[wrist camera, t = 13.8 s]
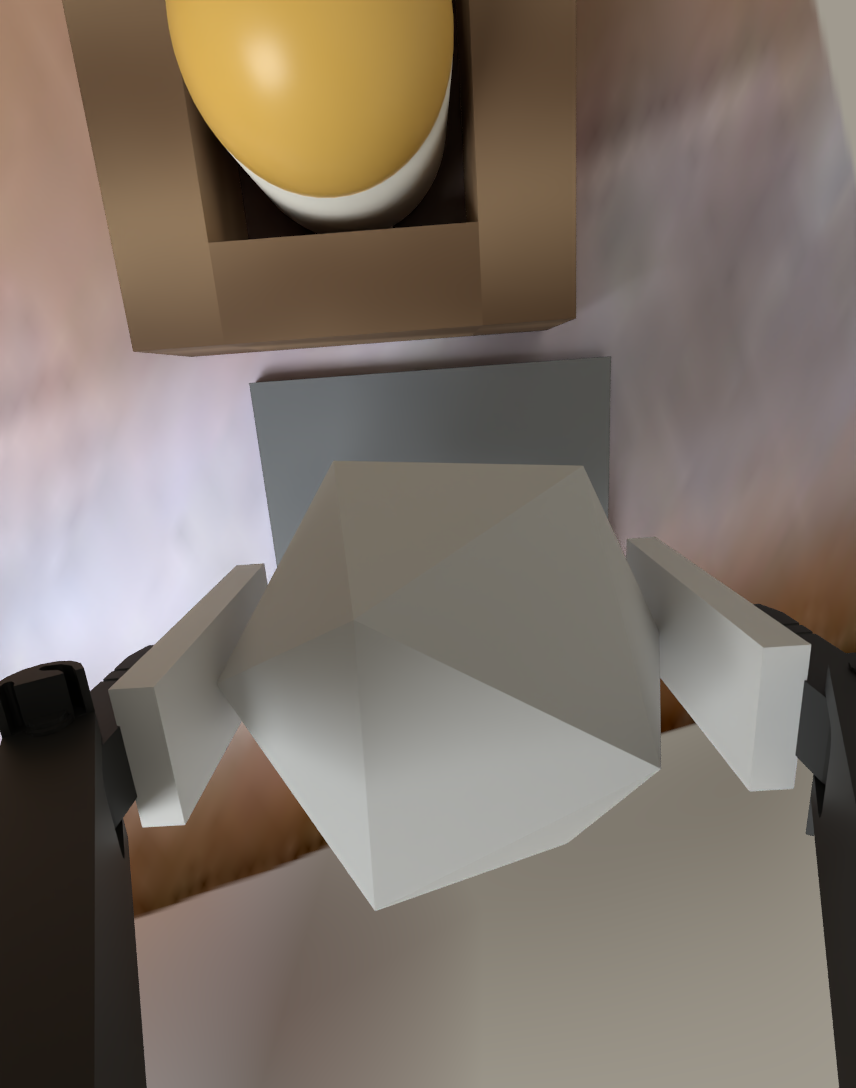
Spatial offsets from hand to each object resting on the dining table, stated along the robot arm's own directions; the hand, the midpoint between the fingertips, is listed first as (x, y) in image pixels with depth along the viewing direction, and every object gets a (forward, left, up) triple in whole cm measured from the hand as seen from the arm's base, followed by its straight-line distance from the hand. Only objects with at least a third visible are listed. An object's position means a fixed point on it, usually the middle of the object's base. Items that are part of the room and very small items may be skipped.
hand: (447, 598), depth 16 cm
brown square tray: (-13, -2, -6) cm, 14 cm away
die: (0, 0, -1) cm, 1 cm away
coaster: (0, 0, -6) cm, 6 cm away
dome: (-13, -2, -5) cm, 14 cm away
